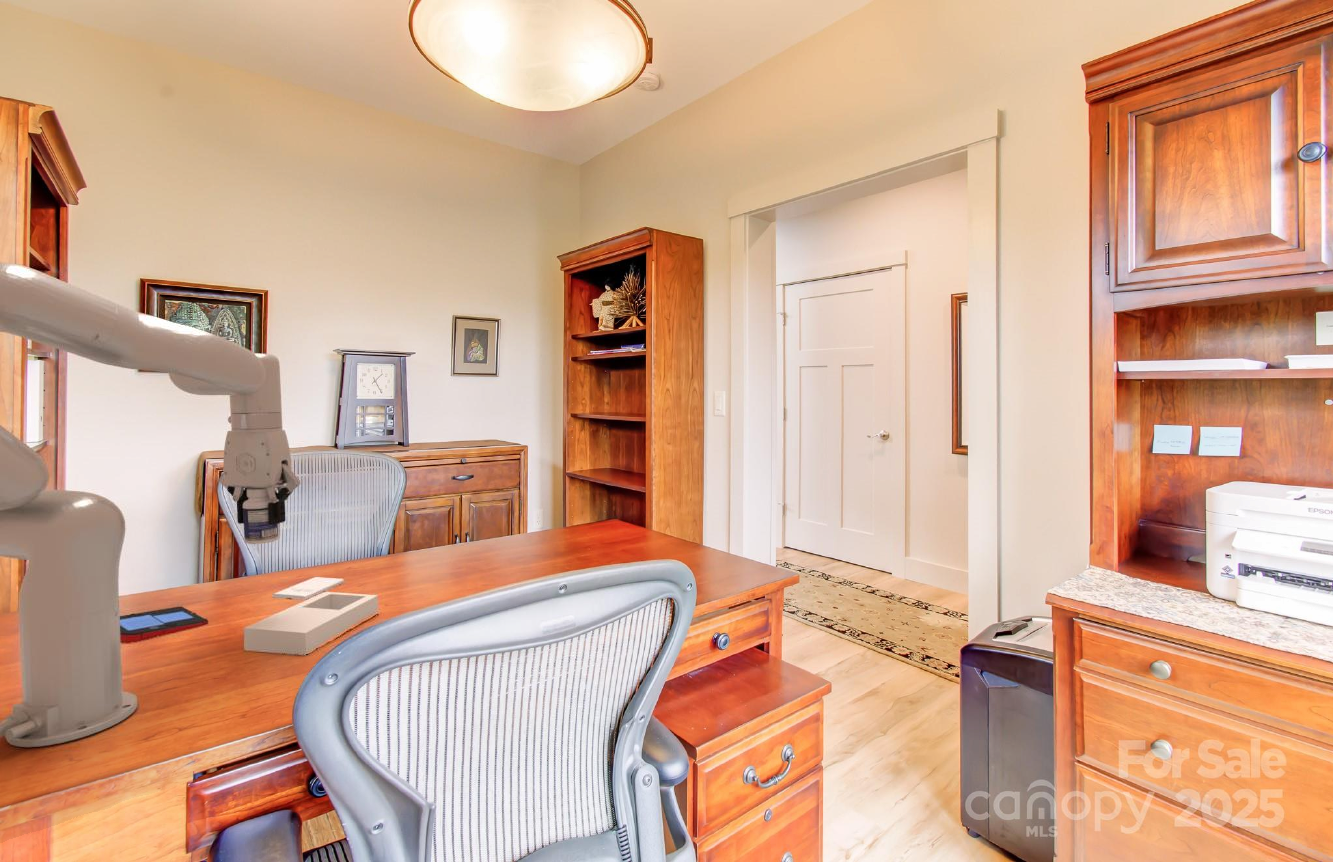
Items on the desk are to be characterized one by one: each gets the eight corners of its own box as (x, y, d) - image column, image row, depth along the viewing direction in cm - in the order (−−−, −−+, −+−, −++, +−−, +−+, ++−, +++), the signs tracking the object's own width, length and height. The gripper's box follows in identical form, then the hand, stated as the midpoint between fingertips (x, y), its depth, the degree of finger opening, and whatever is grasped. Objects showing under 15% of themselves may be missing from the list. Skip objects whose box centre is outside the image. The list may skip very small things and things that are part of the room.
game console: (210, 626, 116) (209, 615, 116) (124, 648, 105) (123, 636, 105) (183, 610, 124) (182, 600, 124) (100, 629, 113) (100, 618, 113)
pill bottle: (250, 538, 109) (247, 485, 108) (284, 535, 111) (281, 484, 110) (239, 545, 104) (236, 490, 103) (275, 543, 106) (272, 489, 105)
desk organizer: (305, 655, 102) (305, 632, 102) (244, 650, 104) (243, 628, 104) (378, 614, 122) (378, 595, 122) (325, 610, 124) (325, 591, 124)
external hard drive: (344, 585, 142) (305, 602, 130) (314, 583, 144) (272, 600, 131) (344, 579, 142) (305, 595, 130) (314, 576, 143) (272, 592, 131)
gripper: (195, 423, 103) (200, 525, 104) (284, 425, 101) (289, 529, 102) (231, 420, 110) (236, 516, 112) (316, 422, 108) (319, 519, 110)
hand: (261, 521), depth 107 cm, fingers closed on pill bottle, 5 cm apart
